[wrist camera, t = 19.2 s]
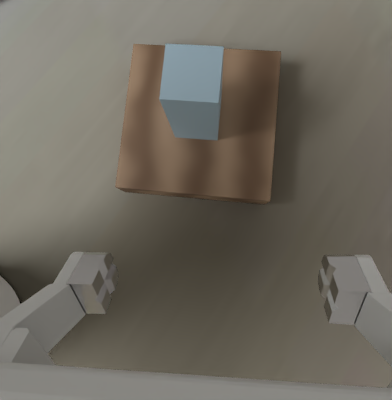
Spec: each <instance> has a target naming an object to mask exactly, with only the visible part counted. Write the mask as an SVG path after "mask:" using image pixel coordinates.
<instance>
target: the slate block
mask: <svg viewBox="0 0 392 400" xmlns="http://www.w3.org/2000/svg"><path fill="white" fill-rule="evenodd" d="M223 51H224V47H223V46H203V45H183V44H166V45H165V53H164V62H163V71H162V79H161V88H160V96H159V100H160V102H161V105H162V107H163V109H164V112H165V114H166V116H167V119H168V121H169V124H170V126H171V128H172V131H173V133H174V136H175V137H177V138H191V139H204V140H218V130H219V119H220V109H221V96H222V74H223Z"/></svg>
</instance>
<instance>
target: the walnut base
mask: <svg viewBox="0 0 392 400" xmlns="http://www.w3.org/2000/svg"><path fill="white" fill-rule="evenodd" d="M164 53H165V46H163V45H144V44H134V45H133V53H132V60H131V68H130V76H129V84H128V92H127V99H126V107H125V115H124V123H123V131H122V138H121V146H120V154H119V162H118V170H117V177H116V185H115V187H116V188H118V189H120V190H123V191H125V192H132V193H143V194H155V195H166V196H177V197H188V198H199V199H210V200H221V201H232V202H243V203H255V204H266V203H268V202H270V200H271V186H272V172H273V158H274V144H275V130H276V116H277V102H278V88H279V74H280V60H281V51H262V50H242V49H224V51H223V74H222V96H221V109H220V119H219V130H218V140H204V139H191V138H177V137H175V136H174V133H173V131H172V128H171V126H170V124H169V121H168V119H167V116H166V114H165V112H164V109H163V107H162V105H161V102H160V100H159V96H160V88H161V79H162V71H163V62H164Z"/></svg>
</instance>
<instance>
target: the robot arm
mask: <svg viewBox="0 0 392 400" xmlns="http://www.w3.org/2000/svg"><path fill="white" fill-rule="evenodd" d="M112 262H113V256H112V254H111V253H103V252H73V253H72V254H71V255H70V256H69V258H68V260H67V261H66V263H65V265H64V266H63V268H62V270H61V271H60V273H59V275H58V276H57V278H56V280H55V281H54V283H53V284H49V285H47V286H46V287H44V288H43V289H41V290H40V291H39V292H37V293H36V294H34V295H33V296H31V297H30V298H29V299H27V300H26V301H24V302H23V303H21V304H20V302H19V299H18V297H17V295H16V293H15V292H14V290H13V289H12V287H11V286H10V285H9V284H8V282H6V281H5V280H4V279H3V278H2V277H1V276H0V400H392V381H391V382H390V384H389V385H388V387H387V388H380V387H365V386H350V385H336V384H321V383H306V382H292V381H277V380H263V379H248V378H234V377H219V376H205V375H190V374H175V373H160V372H146V371H131V370H116V369H101V368H87V367H72V366H57V365H55V363H54V361H53V360H52V358H51V357H50V356H49V355H48V352H49V351H50V350H51V349H52V348H53V347H54V346H55V345H56V344H57V343H58V342H59V341H60V340H61V339H62V338H63V337H64V336H65V335H66V334H67V333H68V332H69V331H70V330H71V329H72V328H73V327H74V326H75V325H76V324H77V323H78V322H79V321H80V320H81V319H82V318H83V317H84V316H85V314H106V312H107V310H108V307H109V305H110V302H111V300H112V299H111V296H110V294H111V293H112V292H113V291H114V290H115V289H116V286H117V284H118V270H117V267H116V266H115V265H114V264H112ZM322 265H323V268H322V269H320V270H319V276H318V284H319V290H320V294H321V296H322V297H323V298H324V299H325V304H324V308H325V312H326V315H327V318H328V322H329V323H335V324H350V325H354V326H355V327H356V328H357V329H358V331H359V332H360V333H361V334H362V335H363V336H364V337H365V338H366V339H367V340H368V341H369V343H370V344H371V345H372V346H373V347H374V348H375V349H376V350H377V351H378V352H379V354H380V355H381V356H382V357H383V358H384V359H385V360H386V361H387V362H388V363H389V364H390V366H391V367H392V293H390V292H389V290H388V288H387V286H386V284H385V282H384V280H383V278H382V277H381V275H380V273H379V271H378V269H377V267H376V265H375V263H374V261H373V259H372V257H371V256H370V255H324V256H323V258H322Z"/></svg>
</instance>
